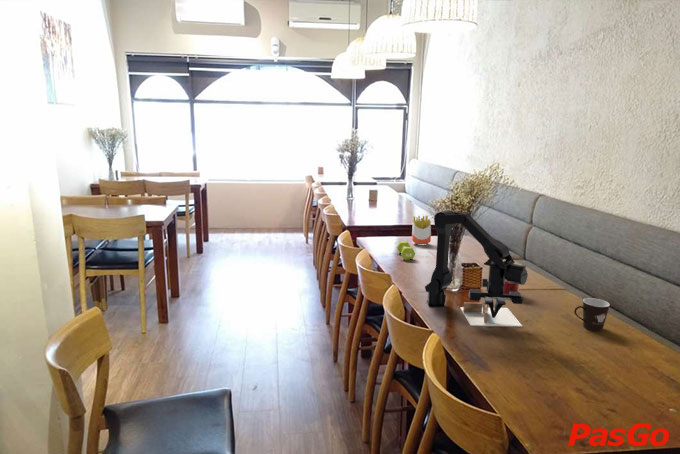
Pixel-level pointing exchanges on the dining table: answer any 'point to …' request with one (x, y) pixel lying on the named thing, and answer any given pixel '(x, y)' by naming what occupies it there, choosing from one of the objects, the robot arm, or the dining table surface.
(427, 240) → the french fries container
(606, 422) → the dining table surface
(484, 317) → the fold panel
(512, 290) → the soda can
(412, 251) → the dumbbell
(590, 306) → the coffee mug
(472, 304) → the fixed panel
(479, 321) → the card
